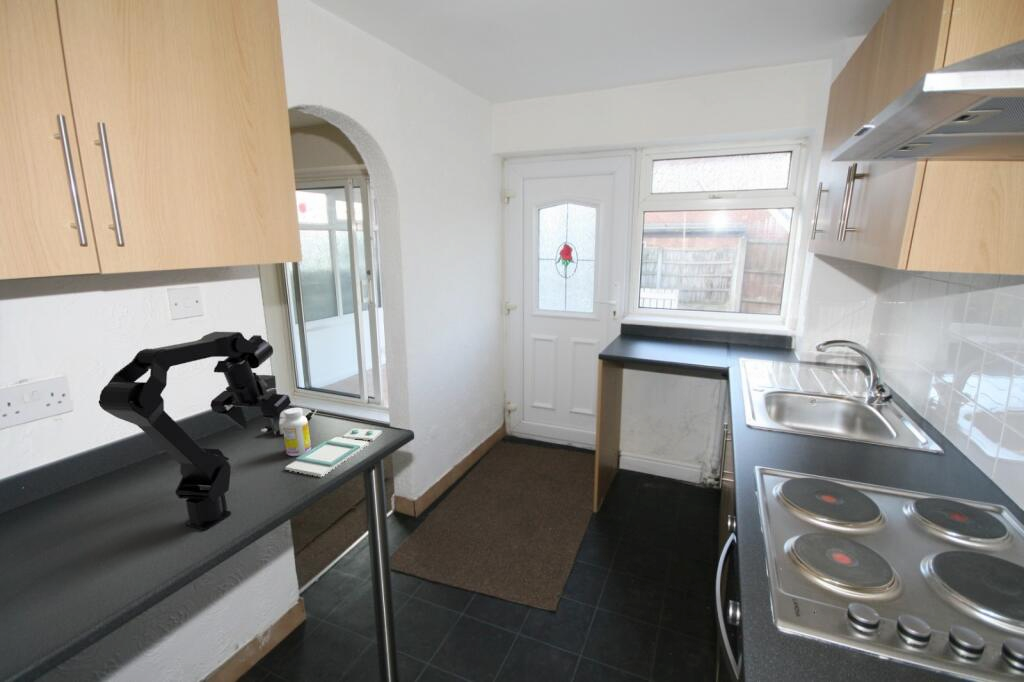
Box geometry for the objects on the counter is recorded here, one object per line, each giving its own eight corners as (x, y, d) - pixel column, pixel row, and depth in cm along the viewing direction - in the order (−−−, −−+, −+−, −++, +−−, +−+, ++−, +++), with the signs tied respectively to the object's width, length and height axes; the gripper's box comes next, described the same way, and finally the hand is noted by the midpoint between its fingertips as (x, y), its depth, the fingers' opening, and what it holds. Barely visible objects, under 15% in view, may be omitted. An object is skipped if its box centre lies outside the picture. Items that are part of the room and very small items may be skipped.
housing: (321, 477, 122) (320, 471, 122) (285, 470, 126) (284, 464, 126) (368, 444, 140) (368, 439, 140) (336, 439, 144) (335, 434, 144)
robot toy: (296, 440, 147) (319, 418, 161) (294, 427, 145) (317, 406, 160) (259, 439, 148) (285, 418, 162) (256, 426, 147) (283, 406, 161)
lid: (372, 440, 143) (372, 436, 143) (343, 438, 145) (342, 434, 145) (381, 432, 149) (381, 428, 148) (353, 430, 151) (352, 426, 151)
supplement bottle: (308, 444, 141) (303, 404, 139) (314, 452, 136) (308, 411, 133) (284, 450, 138) (278, 409, 135) (289, 459, 132) (283, 416, 129)
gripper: (294, 363, 119) (311, 412, 126) (231, 360, 122) (250, 408, 130) (266, 388, 109) (286, 440, 116) (198, 383, 113) (221, 434, 120)
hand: (261, 429), depth 121 cm, fingers open, 9 cm apart
